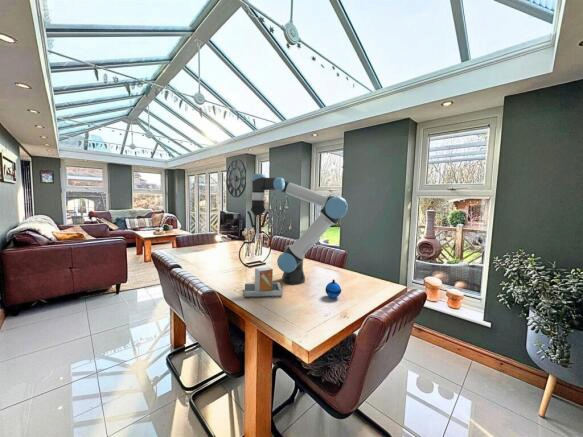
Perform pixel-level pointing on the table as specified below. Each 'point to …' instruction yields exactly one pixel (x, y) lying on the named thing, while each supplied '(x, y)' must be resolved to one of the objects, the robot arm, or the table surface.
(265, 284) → the small box
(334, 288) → the ornament
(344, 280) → the table surface
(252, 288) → the grey rectangular tray
